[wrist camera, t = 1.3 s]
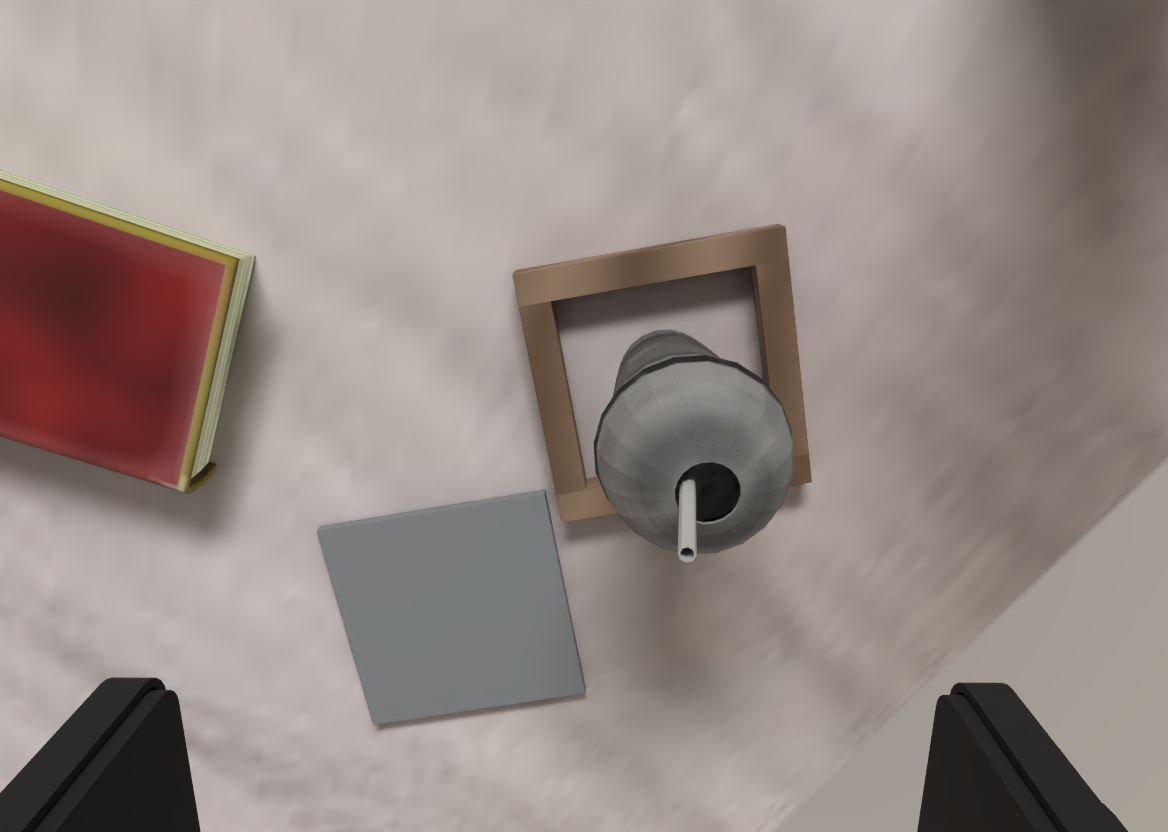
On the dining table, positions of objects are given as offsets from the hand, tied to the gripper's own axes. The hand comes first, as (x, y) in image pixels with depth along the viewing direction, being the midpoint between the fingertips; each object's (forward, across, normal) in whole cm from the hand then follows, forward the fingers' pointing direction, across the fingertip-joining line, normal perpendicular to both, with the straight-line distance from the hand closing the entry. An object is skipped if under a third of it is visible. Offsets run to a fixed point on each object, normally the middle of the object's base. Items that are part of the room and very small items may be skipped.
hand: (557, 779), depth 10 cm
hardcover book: (+32, +27, -1) cm, 42 cm away
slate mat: (+32, +7, +16) cm, 36 cm away
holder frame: (+32, -4, +3) cm, 32 cm away
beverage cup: (+32, -4, +3) cm, 33 cm away
